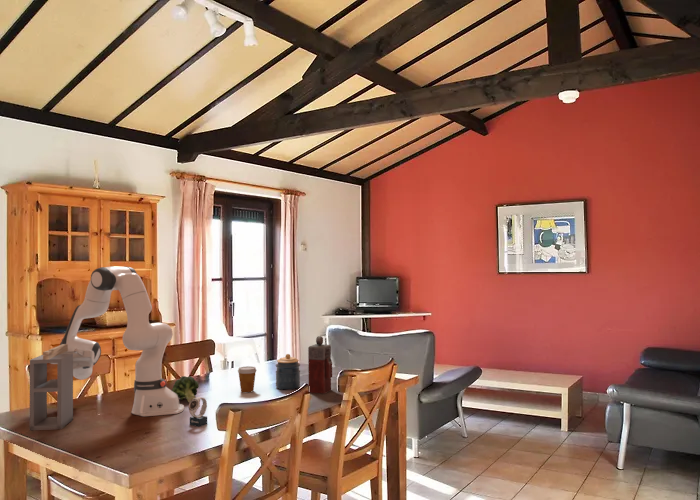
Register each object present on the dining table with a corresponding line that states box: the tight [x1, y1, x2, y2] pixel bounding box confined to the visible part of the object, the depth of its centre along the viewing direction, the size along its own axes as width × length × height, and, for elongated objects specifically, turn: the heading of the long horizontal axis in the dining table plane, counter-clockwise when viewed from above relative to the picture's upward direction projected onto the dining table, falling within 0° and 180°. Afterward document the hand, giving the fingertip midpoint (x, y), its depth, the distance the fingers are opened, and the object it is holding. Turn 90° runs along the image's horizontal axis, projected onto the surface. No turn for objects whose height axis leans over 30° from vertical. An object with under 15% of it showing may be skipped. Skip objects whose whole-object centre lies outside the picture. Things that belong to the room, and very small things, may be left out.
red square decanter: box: [307, 335, 333, 395], centre depth 297 cm, size 9×11×28 cm
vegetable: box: [171, 375, 200, 404], centre depth 280 cm, size 12×13×15 cm
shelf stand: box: [29, 354, 74, 431], centre depth 242 cm, size 12×18×28 cm, turn 7°
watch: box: [188, 396, 208, 428], centre depth 238 cm, size 6×8×11 cm
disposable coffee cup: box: [237, 365, 257, 393], centre depth 298 cm, size 10×10×12 cm
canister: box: [275, 353, 301, 390], centre depth 307 cm, size 13×13×18 cm
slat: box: [42, 344, 68, 360], centre depth 244 cm, size 2×22×3 cm, turn 7°
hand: (64, 350), depth 254 cm, fingers open, 8 cm apart
